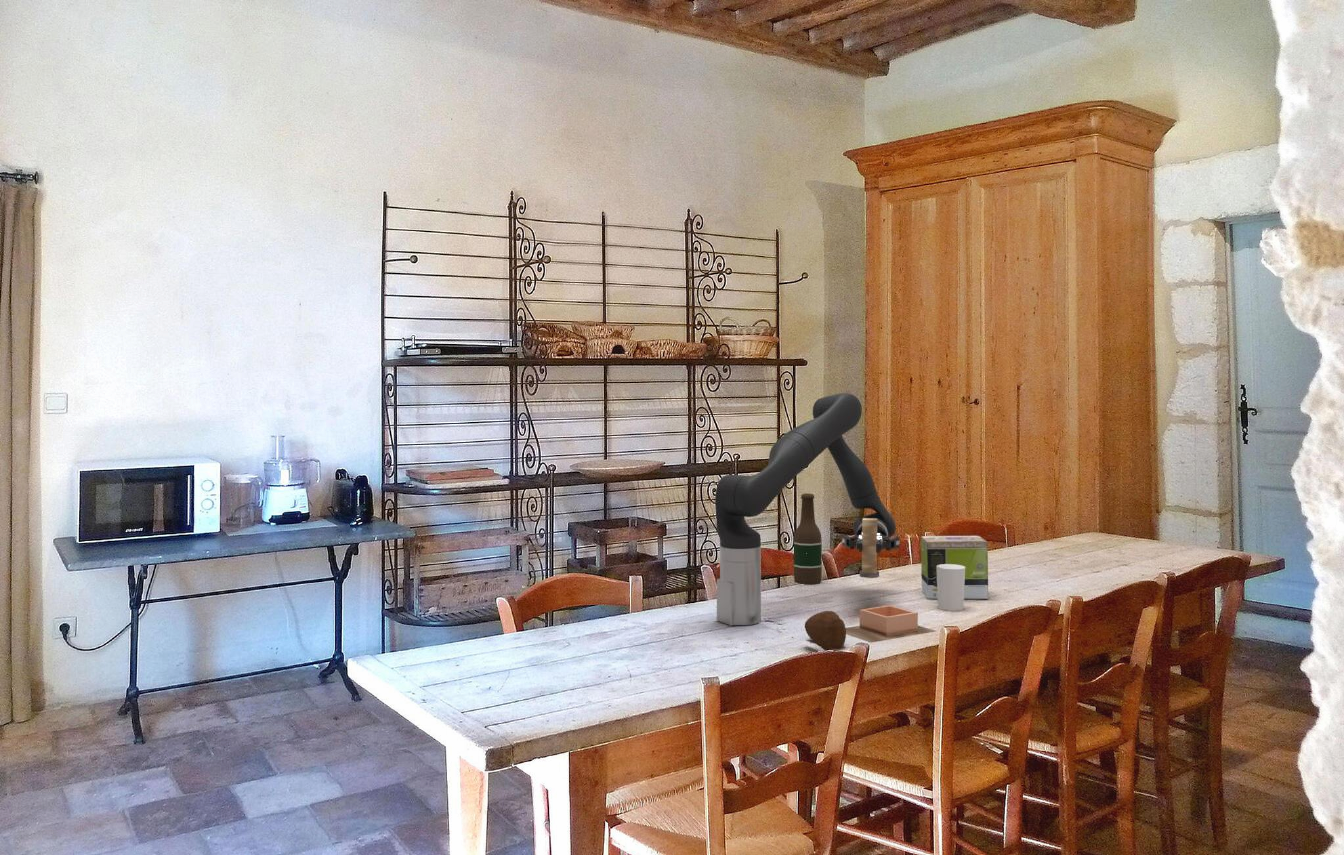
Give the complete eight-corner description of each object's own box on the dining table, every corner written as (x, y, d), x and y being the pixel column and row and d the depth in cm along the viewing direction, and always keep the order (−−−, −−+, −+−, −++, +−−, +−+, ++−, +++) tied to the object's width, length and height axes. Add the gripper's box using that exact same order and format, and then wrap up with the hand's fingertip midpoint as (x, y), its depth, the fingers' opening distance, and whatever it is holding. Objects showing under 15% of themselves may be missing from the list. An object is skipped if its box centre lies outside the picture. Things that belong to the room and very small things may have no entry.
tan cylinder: (859, 577, 225) (859, 520, 224) (859, 573, 229) (860, 517, 228) (878, 578, 224) (879, 520, 223) (879, 574, 228) (880, 518, 227)
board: (870, 648, 203) (870, 642, 202) (833, 635, 213) (833, 629, 213) (936, 636, 211) (936, 630, 211) (897, 624, 222) (897, 619, 222)
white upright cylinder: (966, 611, 234) (966, 569, 233) (937, 610, 235) (937, 568, 235) (963, 605, 240) (964, 564, 240) (935, 604, 242) (935, 563, 241)
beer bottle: (813, 585, 265) (813, 496, 264) (788, 582, 270) (787, 494, 269) (827, 581, 271) (827, 493, 270) (802, 577, 276) (802, 491, 275)
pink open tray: (886, 636, 207) (886, 617, 207) (859, 628, 214) (859, 609, 214) (917, 631, 211) (917, 612, 211) (890, 623, 218) (890, 605, 218)
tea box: (980, 591, 256) (980, 534, 255) (988, 600, 246) (989, 540, 245) (920, 591, 258) (920, 534, 257) (926, 599, 248) (926, 540, 247)
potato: (830, 657, 196) (830, 617, 196) (797, 646, 204) (797, 608, 204) (857, 651, 200) (857, 612, 200) (824, 641, 208) (824, 604, 208)
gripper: (842, 520, 241) (837, 529, 225) (902, 521, 238) (901, 531, 221) (842, 550, 242) (837, 562, 225) (901, 553, 238) (901, 565, 222)
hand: (869, 547), depth 223 cm, fingers closed on tan cylinder, 3 cm apart
